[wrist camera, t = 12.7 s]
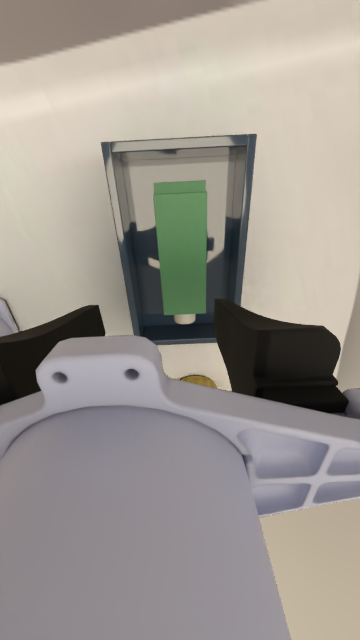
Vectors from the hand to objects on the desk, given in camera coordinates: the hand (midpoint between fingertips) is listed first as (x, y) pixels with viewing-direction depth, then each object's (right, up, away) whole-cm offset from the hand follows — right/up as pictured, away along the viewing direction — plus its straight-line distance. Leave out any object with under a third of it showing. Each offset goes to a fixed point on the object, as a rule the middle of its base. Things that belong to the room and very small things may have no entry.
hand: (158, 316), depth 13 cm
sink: (+2, +6, +8) cm, 10 cm away
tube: (+2, +6, +7) cm, 9 cm away
